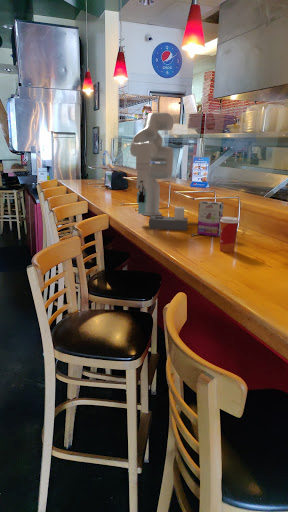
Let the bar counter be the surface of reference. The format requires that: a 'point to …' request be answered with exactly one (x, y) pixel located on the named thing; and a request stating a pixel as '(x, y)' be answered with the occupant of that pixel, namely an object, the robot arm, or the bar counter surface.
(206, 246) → the bar counter surface
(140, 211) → the teal plug
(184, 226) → the block
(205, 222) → the candy bar box
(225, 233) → the paper cup
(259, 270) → the bar counter surface
